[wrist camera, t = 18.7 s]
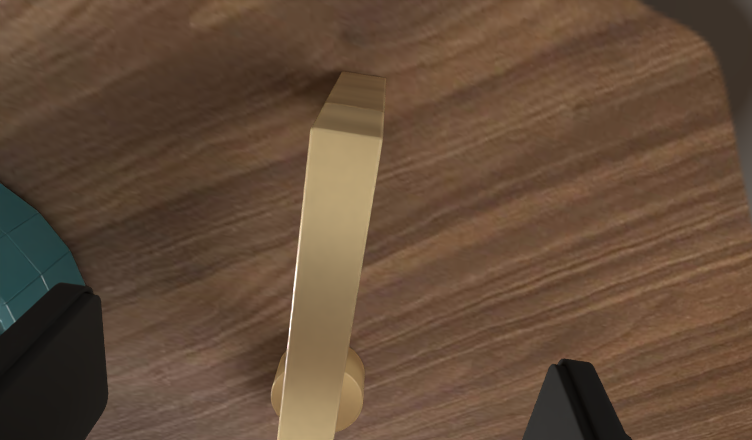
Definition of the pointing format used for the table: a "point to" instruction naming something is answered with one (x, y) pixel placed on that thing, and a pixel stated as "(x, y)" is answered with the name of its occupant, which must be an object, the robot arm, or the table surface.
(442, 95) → the table surface
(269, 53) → the table surface
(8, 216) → the bowl
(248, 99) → the table surface
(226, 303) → the table surface
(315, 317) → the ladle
